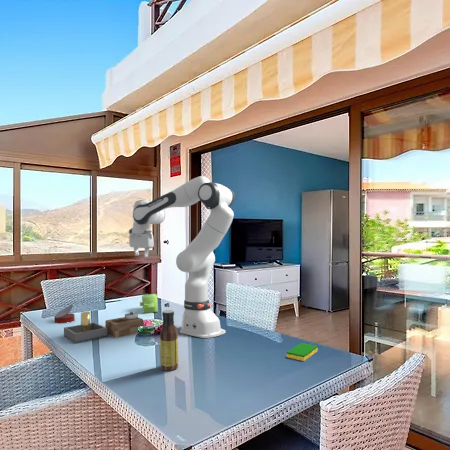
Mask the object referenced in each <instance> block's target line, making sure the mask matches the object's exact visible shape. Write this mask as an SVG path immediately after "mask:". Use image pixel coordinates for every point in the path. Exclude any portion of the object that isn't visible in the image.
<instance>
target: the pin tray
mask: <svg viewBox="0 0 450 450" xmlns="http://www.w3.org/2000/svg"><path fill="white" fill-rule="evenodd" d="M63 337H64V338H65V339H67V340H68V341H70V342H71V343H73V344H75V345H76V344H80V343H85V342H89V341H95V340H98V339H104V338H107V337H108V334H107V328H106V327H105V326H104V325H101V324H99V323H97V322H94V321H93V322H90V331H86V332H81V324H77V325H71V326H66V327H63Z"/></svg>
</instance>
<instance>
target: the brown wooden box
mask: <svg viewBox="0 0 450 450" xmlns="http://www.w3.org/2000/svg"><path fill="white" fill-rule="evenodd" d="M104 323H105V326H104V327H106V328H107V336H110V337H112V338H114V339H117V338H120V337H121V338H122V337H126V336H131V335H136V334H139V332H138V327H140V326H143V327H144V319H143V318H141V317H139V313H137V312H133V311H129V313H125V314H124V316H123V317H116V318H110V319H106V320H105V322H104Z"/></svg>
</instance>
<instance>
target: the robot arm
mask: <svg viewBox="0 0 450 450" xmlns="http://www.w3.org/2000/svg"><path fill="white" fill-rule="evenodd" d="M235 200H236V197H235V193H234V191H233V190H232V189H231V188H230V187H228V186H225V185H223V184H222V183H221V184H220V183H217V182H212V181H210V179H209V178H208V177H207V176H204V175H200V176H197V177H194V178H192V179H191V180H188V181H186V182H185V183H183V184H181V185H180V186H178V187H176V188H175V189H173V190H171V191H169V192H167V193H165V194H163V195H161V196H159V197H157V198H155V199H153V200H151V201H149V200H147V199H139V200H137V201H135V202H134V204H133V208H132V209H133V210H132V217H133V223H132V227H131V228H130V229H129V230H128V234H129V235H128V237H129V238H128V242H129V247H131V248H133V251H134V256H135V257H137V256H138V257H139V256H140V252H139V249H140V248H141V249H144V253H143V257H144V258H145V257H146V258H148V257H149V252H150V249H153V248H154V246H155V243H154V242H155V241H154V240H155V239H154V235H153V232H152V231H151V226H150V225H159V224H162V223H163V222H164V221H165V218H166V212H165V209H169V208H186V207H190V206H193V205H195V204H197V203H198V202H199V201H200V202H201V203H202V204H203V206H205V209H207V210H210V213H209V216H208V218H207V219H206V220H205V222H204V224H203V226H202V228H201V229H200V230H199V232H198V234H197V235H196V236H195V237H194V239H193V240H192V241H191V242H190V243H189V244H188V245H187V246H186V248H185V249H184V250H182V251H181V252H180V253H177V256H176V259H175V265H176V267H177V270H180V271H181V272H183V273H187V274H188V273H189V275H188V278H187V280H186V282H185V284H184V300H183V301H184V302H183V308H184V310H183V311H184V312H183V313H182V320H181V329H180V330H179V333H180V334H183V335H187V336H193V337H197V338H201V339H210V338H215V337H218V336H222V335H225V334H226V332H227V331H226V330H225V329H223V328H222V327H221V321H220V318H219V316H217V315H216V313H214V311H213V310H212V309H211V306H212V302H210V300H209V296H208V295H209V282H210V281H209V280H210V275H211V272H212V268H213V266H214V264H215V262H216V256H215V253H214V252H213V251H214V250H216V249H217V248H218V247H219V245H220V244H221V243H222V240H223V239H224V237H225V236H226V234H227V232H228V231H229V229H230V227H231V225H232V223H233V219H234V216H235V215H234V214H235V213H234V211H233V210H232V208H230V207H231V206H232V205H233V204H234V202H235Z"/></svg>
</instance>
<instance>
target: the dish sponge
mask: <svg viewBox="0 0 450 450" xmlns="http://www.w3.org/2000/svg"><path fill="white" fill-rule="evenodd" d="M318 348H319V347H318V345H313V344H310V343H304V342H300V343H299V344H297V345H296V346H294V347H292V348H291V349H289V350H288V351H286V358H288V359H292V360H297V361H300V362H301V361H302V362H305V361H307V360H308V359H309V358H311V357H312V356H313V355H314V354H316V353H317V352H318V350H319V349H318Z"/></svg>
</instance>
